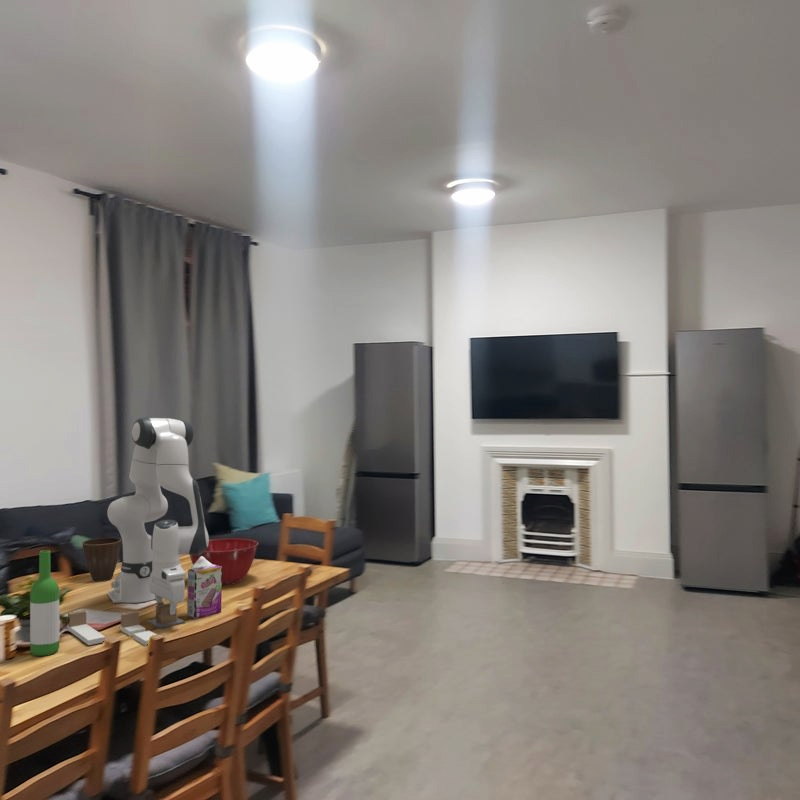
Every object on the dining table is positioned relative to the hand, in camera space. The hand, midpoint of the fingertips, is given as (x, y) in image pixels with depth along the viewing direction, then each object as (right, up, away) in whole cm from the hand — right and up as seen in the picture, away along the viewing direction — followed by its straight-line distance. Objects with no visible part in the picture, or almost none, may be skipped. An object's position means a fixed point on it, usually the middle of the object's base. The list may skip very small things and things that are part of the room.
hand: (166, 611), depth 245 cm
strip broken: (-4, -4, -14) cm, 15 cm away
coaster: (0, -4, 0) cm, 4 cm away
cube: (0, -3, 0) cm, 3 cm away
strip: (-21, -4, -14) cm, 25 cm away
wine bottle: (-27, -4, -29) cm, 39 cm away
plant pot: (-46, -4, +59) cm, 75 cm away
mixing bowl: (+6, -4, +56) cm, 56 cm away
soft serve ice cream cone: (+4, -4, +30) cm, 31 cm away
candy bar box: (+10, -4, +9) cm, 15 cm away
